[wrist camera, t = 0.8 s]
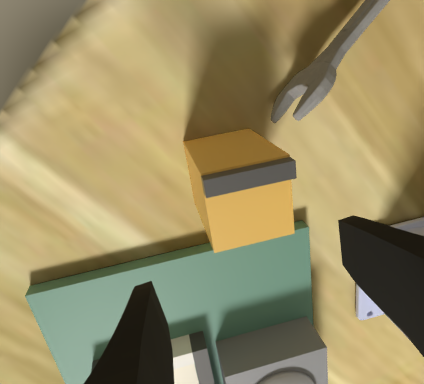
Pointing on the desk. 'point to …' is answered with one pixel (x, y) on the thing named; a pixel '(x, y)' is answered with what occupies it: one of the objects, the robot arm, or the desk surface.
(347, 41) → the combination wrench
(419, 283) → the robot arm
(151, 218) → the desk surface
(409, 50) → the desk surface
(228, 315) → the board
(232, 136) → the plug
